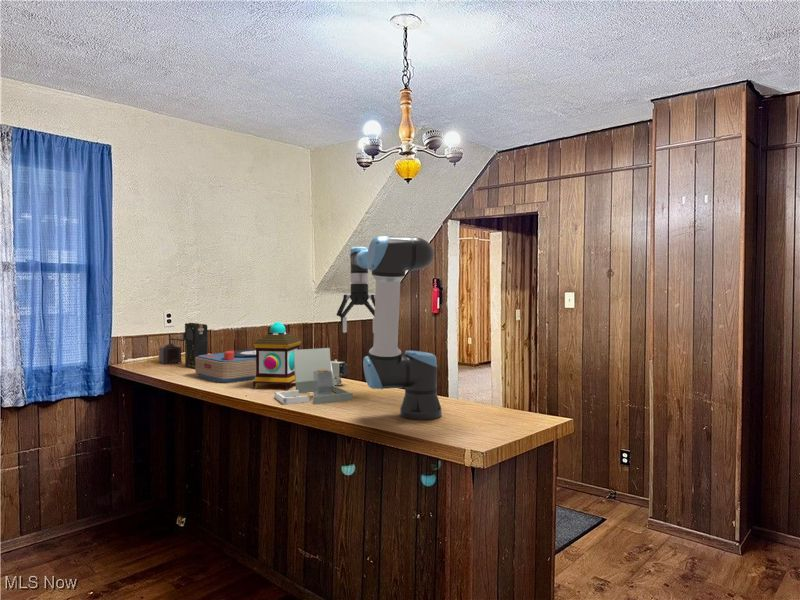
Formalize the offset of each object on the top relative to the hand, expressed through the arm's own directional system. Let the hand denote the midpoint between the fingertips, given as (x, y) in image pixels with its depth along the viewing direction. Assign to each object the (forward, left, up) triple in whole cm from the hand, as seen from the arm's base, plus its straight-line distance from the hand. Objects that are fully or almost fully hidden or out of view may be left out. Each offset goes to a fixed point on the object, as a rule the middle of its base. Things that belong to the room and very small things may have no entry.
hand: (359, 332), depth 240 cm
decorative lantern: (+36, +26, -27) cm, 52 cm away
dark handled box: (+140, +61, -27) cm, 155 cm away
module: (+3, +16, -27) cm, 31 cm away
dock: (+3, +29, -27) cm, 39 cm away
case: (+5, +15, -27) cm, 31 cm away
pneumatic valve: (+26, +1, -27) cm, 37 cm away
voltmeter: (+114, +52, -27) cm, 128 cm away
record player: (+76, +32, -27) cm, 87 cm away
